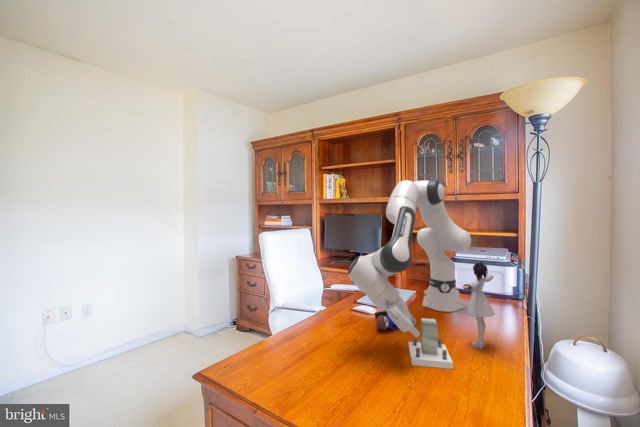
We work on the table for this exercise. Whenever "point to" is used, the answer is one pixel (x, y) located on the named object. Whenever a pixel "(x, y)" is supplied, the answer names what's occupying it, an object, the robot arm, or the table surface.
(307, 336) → the table surface
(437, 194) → the robot arm
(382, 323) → the character figurine
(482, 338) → the figurine
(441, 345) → the display base
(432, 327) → the sage block
